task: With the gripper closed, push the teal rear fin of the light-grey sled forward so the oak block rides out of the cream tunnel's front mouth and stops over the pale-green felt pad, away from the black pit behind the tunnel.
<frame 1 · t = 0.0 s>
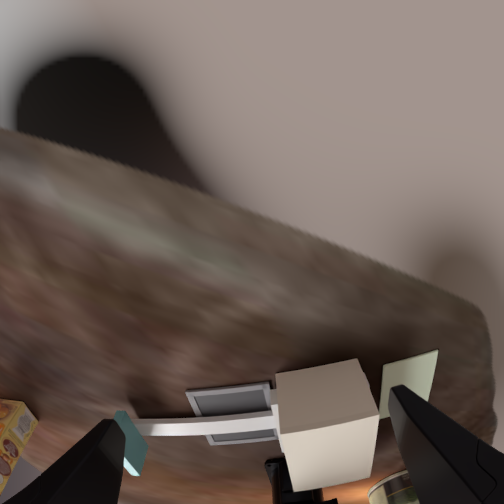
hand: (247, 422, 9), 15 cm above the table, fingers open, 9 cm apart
coffee can: (397, 483, 36), on the table
candy box: (13, 408, 31), on the table
sled: (239, 439, 26), point 3 cm above the table, slide at 0.0 cm, touching block
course: (320, 404, 28), on the table
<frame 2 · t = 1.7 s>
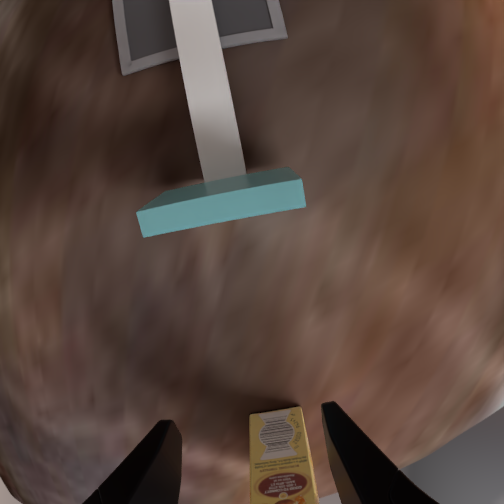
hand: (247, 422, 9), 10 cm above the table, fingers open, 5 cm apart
candy box: (284, 438, 24), on the table
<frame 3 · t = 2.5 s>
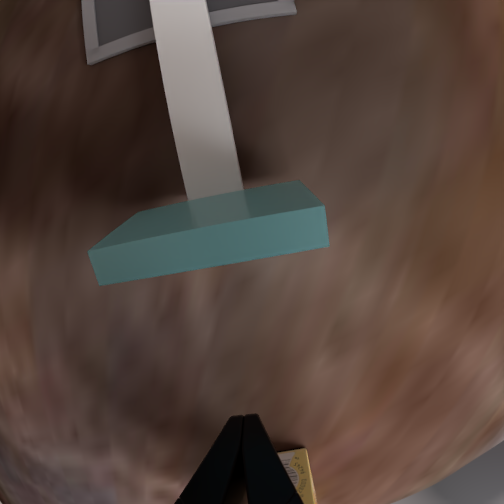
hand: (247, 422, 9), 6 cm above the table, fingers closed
candy box: (286, 476, 20), on the table
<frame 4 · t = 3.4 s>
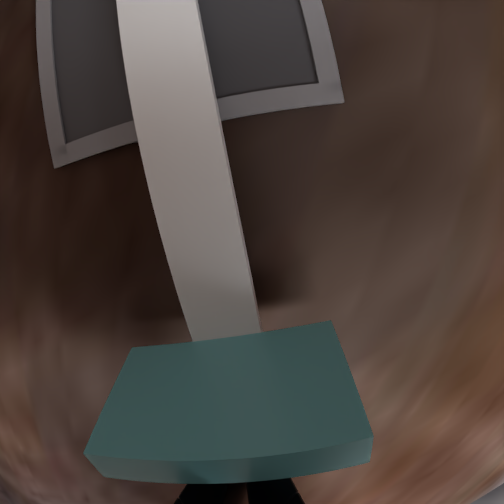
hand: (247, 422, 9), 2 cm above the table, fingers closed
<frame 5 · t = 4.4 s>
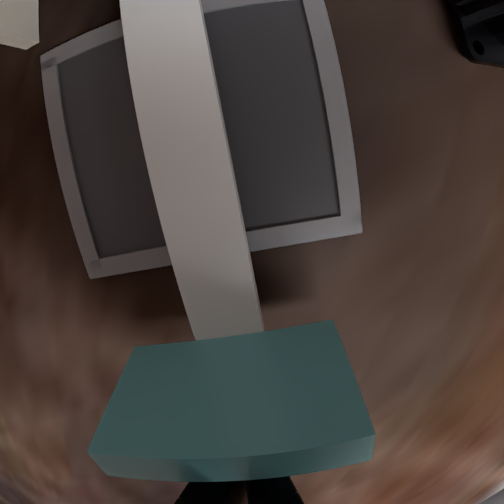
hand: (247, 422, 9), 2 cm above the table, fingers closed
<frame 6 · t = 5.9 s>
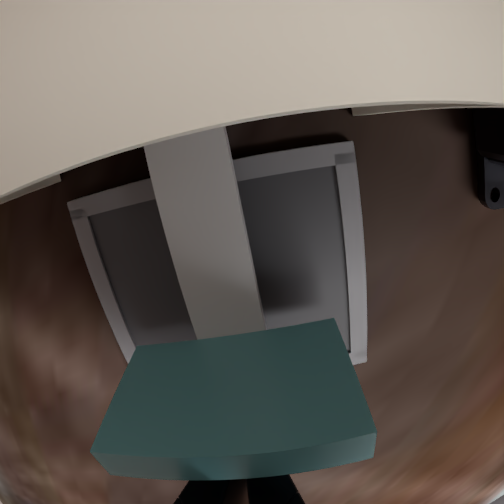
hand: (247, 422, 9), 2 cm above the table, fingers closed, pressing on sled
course: (171, 26, 7), on the table
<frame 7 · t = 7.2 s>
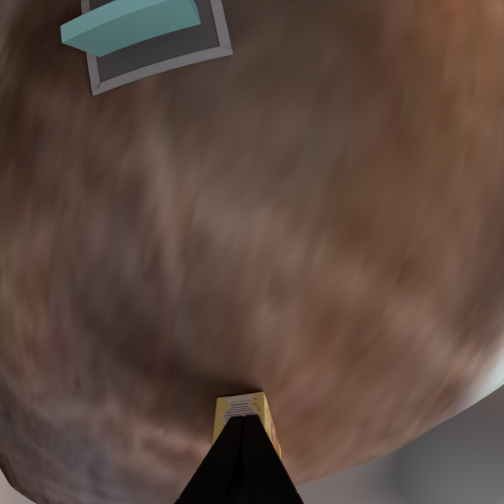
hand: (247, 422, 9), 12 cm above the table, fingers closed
candy box: (252, 423, 26), on the table
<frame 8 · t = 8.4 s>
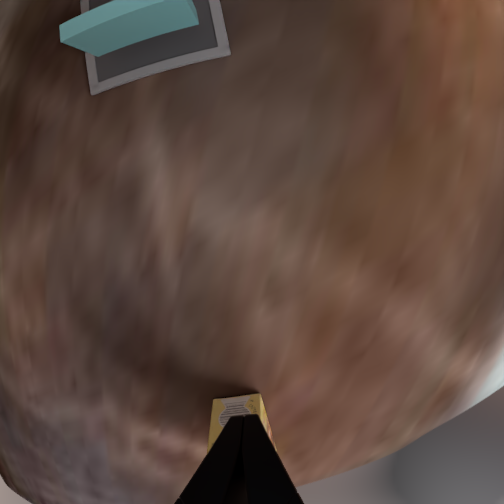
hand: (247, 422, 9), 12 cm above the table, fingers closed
candy box: (248, 424, 26), on the table
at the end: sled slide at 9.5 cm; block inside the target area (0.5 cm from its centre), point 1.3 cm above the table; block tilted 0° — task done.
